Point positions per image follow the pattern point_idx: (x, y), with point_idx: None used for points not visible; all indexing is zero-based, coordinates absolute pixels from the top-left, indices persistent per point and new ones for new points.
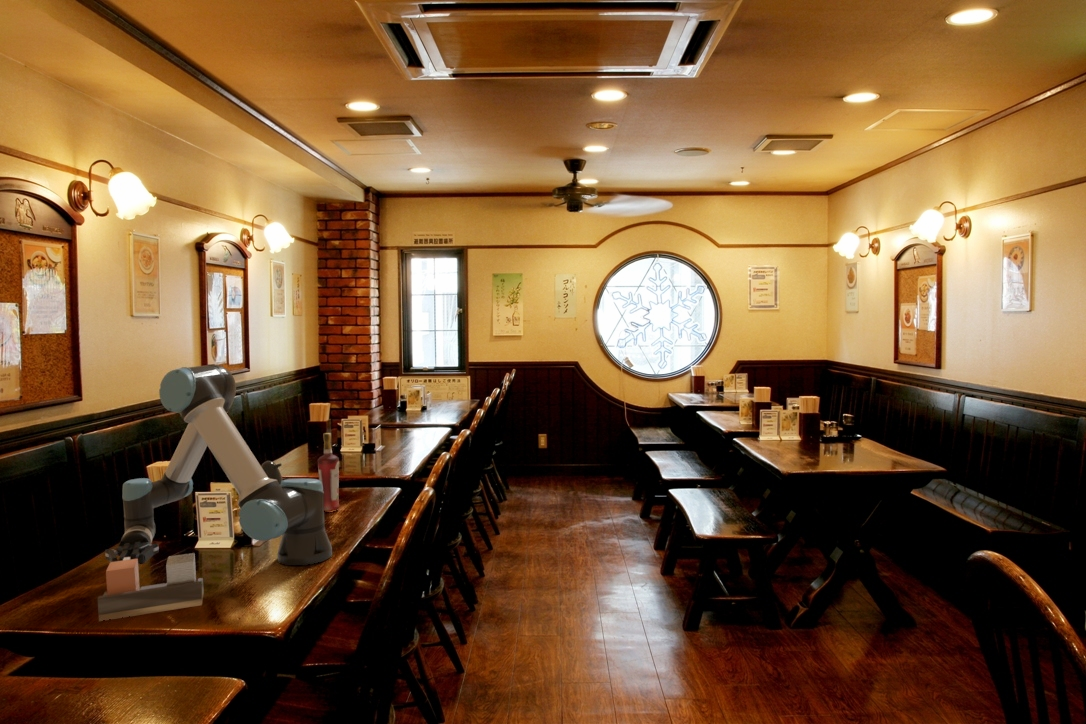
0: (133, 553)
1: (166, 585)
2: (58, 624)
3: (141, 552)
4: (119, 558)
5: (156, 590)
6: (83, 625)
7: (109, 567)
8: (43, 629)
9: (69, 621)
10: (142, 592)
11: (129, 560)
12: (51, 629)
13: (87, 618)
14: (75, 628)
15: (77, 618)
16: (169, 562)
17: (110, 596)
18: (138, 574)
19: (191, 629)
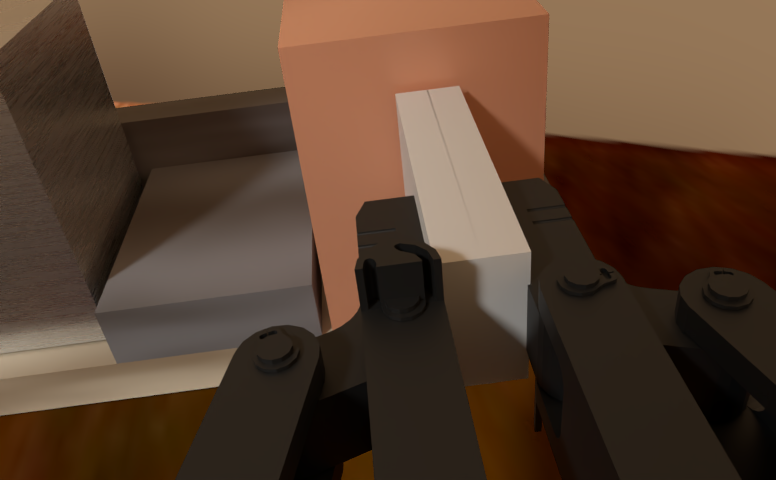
0: (389, 256)
1: (121, 269)
2: (725, 183)
3: (282, 467)
4: (608, 266)
5: (192, 102)
6: (568, 163)
7: None
8: (766, 155)
9: (685, 200)
10: (268, 93)
11: (354, 27)
12: (718, 152)
13: (596, 213)
14: (591, 147)
15: (662, 220)
16: (33, 2)
17: None
18: (307, 194)
19: (117, 106)
